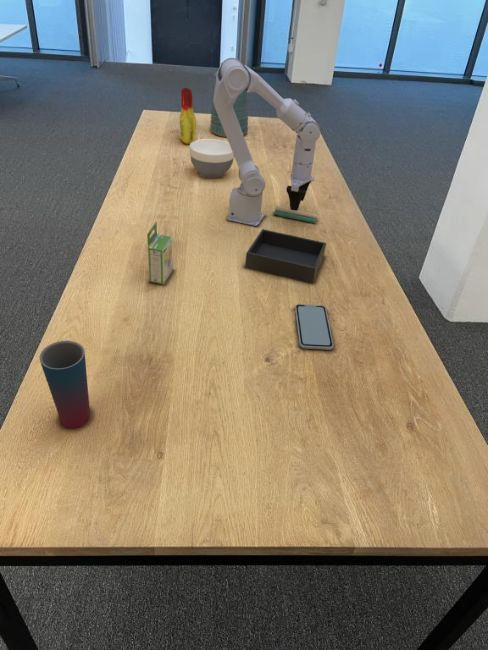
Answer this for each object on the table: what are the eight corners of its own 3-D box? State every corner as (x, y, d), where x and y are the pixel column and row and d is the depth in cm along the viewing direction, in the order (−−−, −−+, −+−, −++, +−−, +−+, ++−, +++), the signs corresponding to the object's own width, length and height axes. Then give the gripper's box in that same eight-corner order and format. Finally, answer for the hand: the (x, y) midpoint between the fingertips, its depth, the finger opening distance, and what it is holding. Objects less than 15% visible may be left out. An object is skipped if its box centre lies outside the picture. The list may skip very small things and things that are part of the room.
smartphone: (300, 346, 107) (294, 303, 118) (299, 349, 107) (294, 306, 119) (334, 347, 107) (325, 305, 119) (333, 350, 108) (325, 308, 119)
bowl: (242, 177, 178) (244, 150, 172) (203, 185, 171) (204, 157, 165) (218, 162, 188) (219, 136, 182) (181, 169, 181) (181, 142, 175)
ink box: (164, 285, 123) (162, 236, 114) (148, 282, 123) (145, 234, 115) (173, 270, 128) (172, 223, 120) (158, 268, 128) (156, 220, 120)
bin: (245, 267, 132) (246, 252, 129) (260, 243, 142) (262, 228, 139) (312, 283, 128) (315, 268, 125) (323, 257, 138) (326, 242, 136)
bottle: (178, 136, 208) (178, 84, 196) (194, 136, 209) (194, 84, 197) (180, 146, 199) (180, 92, 187) (196, 146, 200) (197, 92, 188)
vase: (233, 141, 208) (237, 70, 191) (202, 132, 214) (203, 63, 197) (254, 132, 219) (260, 64, 202) (224, 123, 225) (226, 57, 208)
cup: (59, 403, 91) (44, 340, 82) (98, 402, 92) (87, 340, 82) (51, 433, 86) (34, 369, 76) (92, 432, 86) (80, 369, 77)
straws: (273, 215, 157) (274, 207, 155) (275, 211, 159) (276, 204, 157) (314, 224, 154) (316, 216, 152) (316, 220, 156) (318, 212, 154)
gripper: (311, 172, 139) (304, 217, 147) (321, 155, 150) (314, 198, 158) (286, 167, 140) (281, 212, 149) (298, 151, 151) (293, 193, 160)
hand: (297, 204), depth 154 cm, fingers open, 7 cm apart
